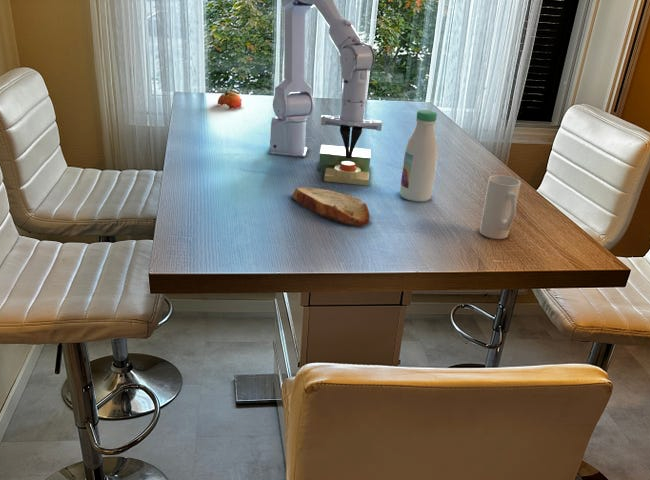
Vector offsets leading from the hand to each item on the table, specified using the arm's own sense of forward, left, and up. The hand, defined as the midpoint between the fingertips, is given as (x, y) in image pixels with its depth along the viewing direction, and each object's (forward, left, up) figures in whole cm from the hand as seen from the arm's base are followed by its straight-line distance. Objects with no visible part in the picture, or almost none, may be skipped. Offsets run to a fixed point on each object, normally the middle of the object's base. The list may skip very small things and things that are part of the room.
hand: (348, 157), depth 173 cm
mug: (+34, -28, -6) cm, 45 cm away
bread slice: (-3, -22, -6) cm, 23 cm away
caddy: (-1, +9, -6) cm, 11 cm away
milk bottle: (+17, -7, -6) cm, 19 cm away
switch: (0, 0, -3) cm, 3 cm away
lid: (-1, +9, -2) cm, 9 cm away
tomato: (-41, +64, -6) cm, 76 cm away
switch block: (0, +1, -6) cm, 6 cm away
